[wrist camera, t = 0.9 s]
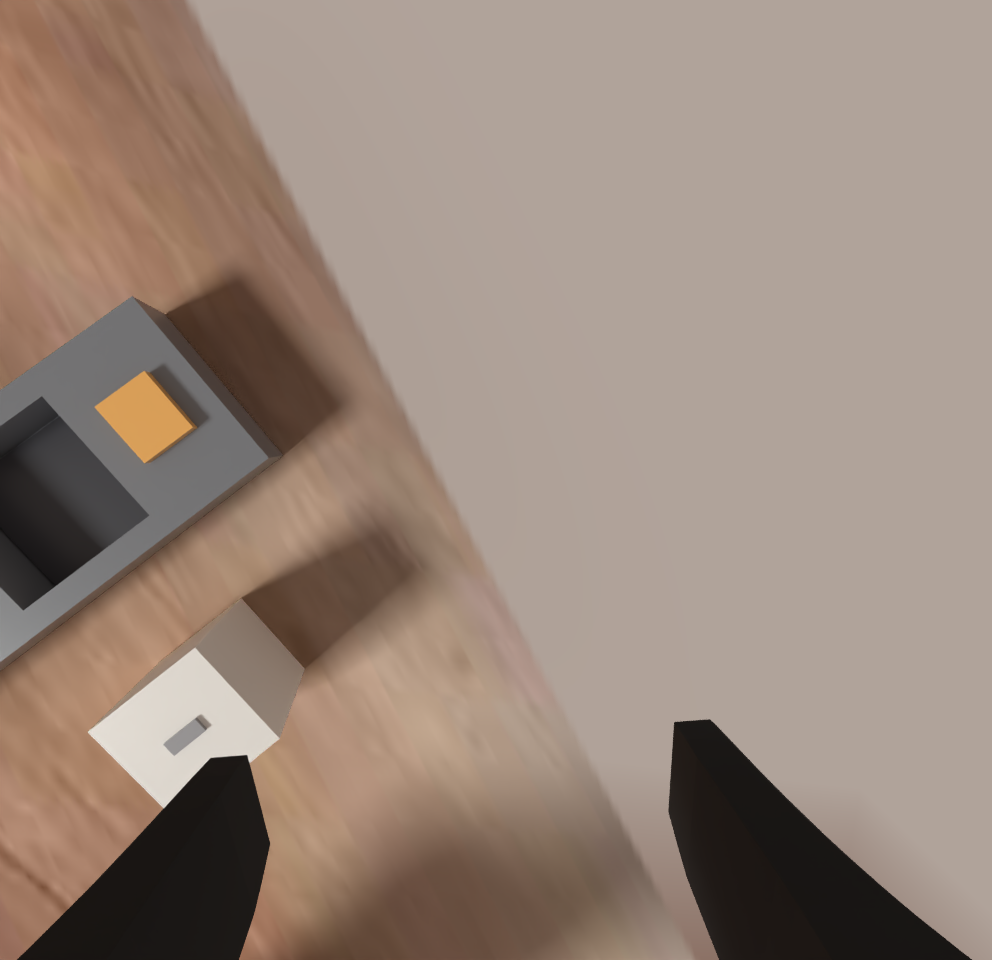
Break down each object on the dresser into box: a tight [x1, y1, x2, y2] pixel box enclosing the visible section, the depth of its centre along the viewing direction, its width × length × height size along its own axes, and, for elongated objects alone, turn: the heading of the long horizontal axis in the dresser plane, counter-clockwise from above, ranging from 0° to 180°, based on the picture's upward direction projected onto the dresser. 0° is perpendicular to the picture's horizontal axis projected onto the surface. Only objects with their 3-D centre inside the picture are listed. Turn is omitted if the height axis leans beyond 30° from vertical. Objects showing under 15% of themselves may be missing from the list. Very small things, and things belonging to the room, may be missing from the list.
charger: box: [88, 598, 305, 808], centre depth 22 cm, size 4×4×6 cm
